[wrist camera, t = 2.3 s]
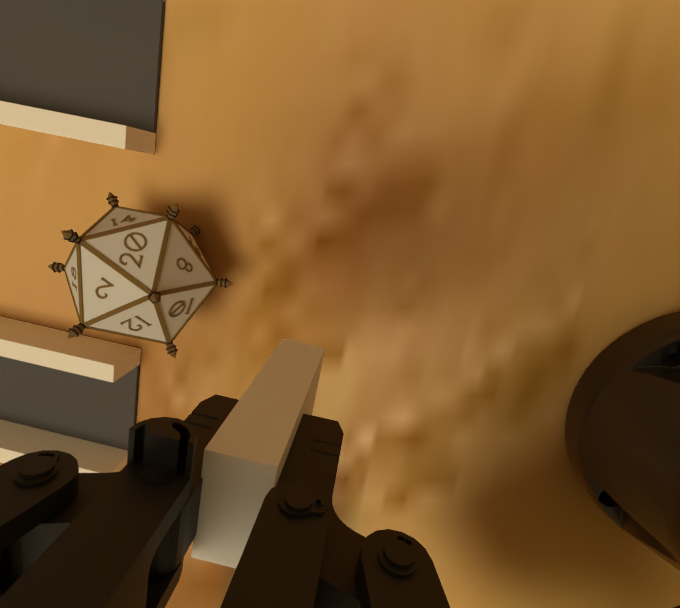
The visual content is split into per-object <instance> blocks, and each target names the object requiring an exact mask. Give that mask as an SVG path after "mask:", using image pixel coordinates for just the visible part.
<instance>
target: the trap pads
mask: <svg viewBox="0 0 680 608" xmlns="http://www.w3.org/2000/svg"><path fill="white" fill-rule="evenodd" d="M164 10H165V1H163V0H0V101H4V102H9V103H14V104H19V105H24V106H29V107H34V108H39V109H44V110H49V111H55V112H60V113H65V114H70V115H75V116H80V117H85V118H90V119H95V120H100V121H105V122H110V123H115V124H120V125H125V126H129V127H133V128H137V129H141V130H144V131H148V132H152V133H156V125H157V111H158V96H159V82H160V67H161V53H162V39H163V24H164ZM139 371H140V365H138V366H137V367H135V368H134V369H132V370H131V371H129V372H128V373H127V374H125V375H124V376H122V377H121V378H119V379H118V380H116V381H115V382H113V383H112V382H108V381H104V380H100V379H95V378H91V377H87V376H83V375H78V374H74V373H70V372H66V371H62V370H57V369H53V368H49V367H45V366H40V365H36V364H32V363H28V362H24V361H19V360H15V359H11V358H7V357H2V356H0V419H1V420H5V421H9V422H13V423H18V424H22V425H26V426H30V427H34V428H38V429H42V430H46V431H50V432H54V433H58V434H62V435H66V436H70V437H74V438H78V439H83V440H87V441H91V442H95V443H99V444H103V445H107V446H111V447H115V448H119V449H123V450H127V451H128V440H129V428H131V427H132V426H134V425H135V424H136V414H137V400H138V385H139Z"/></svg>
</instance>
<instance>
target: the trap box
mask: <svg viewBox="0 0 680 608" xmlns="http://www.w3.org/2000/svg"><path fill="white" fill-rule="evenodd" d="M163 1H165V0H163ZM0 124H3V125H8V126H13V127H18V128H23V129H28V130H33V131H38V132H43V133H48V134H53V135H58V136H63V137H68V138H73V139H78V140H82V141H87V142H92V143H97V144H102V145H107V146H112V147H117V148H122V149H127V150H133V151H139V152H145V153H151V154H155V140H156V133H152V132H148V131H144V130H141V129H137V128H133V127H129V126H125V125H120V124H115V123H110V122H105V121H100V120H95V119H90V118H85V117H80V116H75V115H70V114H65V113H60V112H55V111H49V110H44V109H39V108H34V107H29V106H24V105H19V104H14V103H9V102H4V101H0ZM68 335H69V332H67V331H62V330H58V329H54V328H49V327H45V326H41V325H36V324H32V323H28V322H23V321H19V320H15V319H10V318H6V317H2V316H0V356H2V357H7V358H11V359H15V360H19V361H24V362H28V363H32V364H36V365H40V366H45V367H49V368H53V369H57V370H62V371H66V372H70V373H74V374H78V375H83V376H87V377H91V378H95V379H100V380H104V381H108V382H112V383H113V382H115V381H116V380H118V379H119V378H121V377H122V376H124V375H125V374H127V373H128V372H129V371H131V370H132V369H134V368H135V367H137V366H138V365H140V356H141V349H140V348H136V347H132V346H127V345H123V344H119V343H114V342H110V341H106V340H101V339H97V338H93V337H88V336H84V335H80V334H79V336H78V337H73V338H69V339H68ZM42 450H59V451H62V452H66V453H69V454H71V455H72V456H73V457H75V458H76V459H77V461H78V466H79V473H110V472H120V471H121V470H122V469H123V468H124V467H125V466H126V465H127V456H128V451H127V450H123V449H119V448H115V447H111V446H107V445H103V444H99V443H95V442H91V441H87V440H83V439H78V438H74V437H70V436H66V435H62V434H58V433H54V432H50V431H46V430H42V429H38V428H34V427H30V426H26V425H22V424H18V423H13V422H9V421H5V420H1V419H0V463H6V462H8V461H10V460H12V459H14V458H17V457H19V456H22V455H25V454H27V453H32V452H37V451H42Z"/></svg>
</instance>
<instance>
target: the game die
mask: <svg viewBox="0 0 680 608" xmlns="http://www.w3.org/2000/svg"><path fill="white" fill-rule="evenodd" d="M106 200H108V204H110V205H111V206H112V208H111V209H110V210H109V211H108V212H107V213H106V214H105V215H103V216H102V217H101V218H100V219H99V220H98V221H97V222H96V223H95V224H93V225H92V226H91V227H90V228H89V229H88V230H87V231H86V232H84V233H83V234H82V235H81V236H80V237H79V236H78V234H77V232H73V230H72V229H71V230H67V231H61V232H62V234H63V236H64V239H65V240H69V242H73V243H74V242H75V245H74V247H73V249H72V251H71V253H70V255H69V257H68V259H67V261H66V264H65V265H63V264H62V263H56V262H53V264H51V265H49V266H48V267H49V268H50V269H52V270H53V271H54V272H59V273H60V272H61V271H65V275H66V278H67V281H68V285H69V288H70V291H71V295H72V298H73V301H74V305H75V308H76V311H77V315H78V318H79V321H80V323H79V324H78V325H76V326H75V325H74V326H73V328H72V329H69V330H70V331H69V335H68V339H69V338H73V337H78V336H79V334H80V333H82V332H83V330H84V329H85V328H87V329H92V330H97V331H103V332H108V333H113V335H114V334H118V335H123V336H128V337H133V338H138V339H143V340H148V341H153V342H158V343H163V344H166V345H167V349H166V350H167V351H168V353H167V354H170V355H171V356H173V357H174V358H175V357H176V352H177V350H178V349H176V345H174V344H173V342H172V341H173V340H174V339H175V338H176V336H177V335H178V334H179V332H180V331H181V330H182V329H183V327H184V326H185V325H186V323H187V322H188V321H189V320H190V318H191V317H192V316H193V315H194V313H195V312H196V311H197V309H198V308H199V307H200V306H201V304H202V303H203V302H204V300H205V299H206V298H207V297H208V295H209V294H210V293H211V291H212V290H213V289H214V288H215V286H216V285H220V287H222V286H224V287H227V286H229V285H232V284H233V283H231V282H230V281H229V280H228V279H227V278H226V279H223V278H221V279H217V278H216V277H215V275H214V273H213V271H212V269H211V267H210V266H209V264H208V262H207V260H206V258H205V256H204V255H203V253H202V251H201V249H200V247H199V245H198V244H197V242H196V240H195V238H194V235H197V234H198V233H200V226H195V225H194V226H193V227H192V228H191V229H190V232H189V231H188V230H187V229H185V228H184V227H183V226H182V225H181V224H179V223H178V222H177V221H176V220H175V219H174V217H176V216H177V215H178V213H179V211H180V210H179V209H178V205H177V204H175V205H173V206H169V207H168V208H169V210H167V212H168V215H162V214H157V213H151V212H146V211H141V210H135V209H130V208H125V207H119V206H118V202H119V201H118V200H117V196H114V195H113V194H112V193H110V192H109V195H108V198H107V199H106Z"/></svg>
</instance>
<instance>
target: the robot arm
mask: <svg viewBox="0 0 680 608" xmlns="http://www.w3.org/2000/svg"><path fill="white" fill-rule="evenodd" d="M324 350H325V347H322V346H317V345H313V344H308V343H304V342H299V341H295V340H290V339H286V338H283V339H282V340H281V341H280V343H279V344H278V346H277V347H276V349H275V350H274V351H273V353H272V354H271V356H270V357H269V358H268V360H267V361H266V363H265V364H264V366H263V367H262V368H261V370H260V371H259V373H258V374H257V375H256V377H255V378H254V380H253V381H252V383H251V384H250V385H249V387H248V388H247V390H246V391H245V392H244V394H243V395H242V397H241V398H240V400H237V399H233V398H228V397H224V396H220V395H214V396H212V397H210V398H208V399H206V400H204V401H202V402H200V403H199V405H198V406H197V407H196V408H195V409H194V410H193V411H192V414H190V415H189V416H188V417H187V418H186V419H185V420H184V421H183V420H180V419H178V418H169V417H160V418H151V419H148V420H144V421H141V422H139V423H137V424H135V425H134V426H132V427H131V428H129V440H128V456H127V465H126V466H125V467H124V468H123V469H122V470H121V471H120V472H110V473H79V466H78V461H77V459H76V458H75V457H73V456H72V455H71V454H69V453H66V452H62V451H59V450H42V451H37V452H32V453H27V454H25V455H22V456H19V457H17V458H14V459H12V460H10V461H8V462H6V463H4V464H2V465H0V608H165V606H166V604H167V602H168V600H169V598H170V597H171V595H172V593H173V591H174V589H175V587H176V585H177V583H178V581H179V579H180V575H181V572H182V567H183V558H184V555H185V553H186V552H187V550H188V548H189V546H190V544H191V543H192V541H193V548H192V557H193V558H196V559H200V560H204V561H208V562H212V563H216V564H220V565H224V566H228V567H232V568H236V570H235V573H234V575H233V578H232V580H231V583H230V585H229V588H228V590H227V593H226V595H225V598H224V600H223V603H222V605H221V608H450V606H449V603H448V601H447V598H446V595H445V593H444V590H443V588H442V585H441V582H440V580H439V577H438V574H437V572H436V569H435V566H434V564H433V561H432V559H431V558H430V556H429V554H428V553H427V551H426V549H425V548H424V547H423V546H422V545H421V544H420V543H419V542H418V541H416V540H415V539H414V538H412V537H410V536H408V535H407V534H405V533H403V532H399V531H395V530H390V529H386V530H378V531H375V532H374V533H372V534H370V535H369V536H367V537H364V536H362V535H360V534H358V533H356V532H355V531H353V530H352V529H350V528H349V527H347V526H346V525H345V524H344V523H343V522H342V521H341V520H340V519H339V518H338V516H337V514H336V513H335V511H334V508H333V505H332V495H333V489H334V484H335V478H336V473H337V467H338V461H339V456H340V450H341V445H342V439H343V431H342V429H341V427H340V425H339V423H338V421H334V420H329V419H325V418H321V417H316V416H312V411H313V406H314V401H315V396H316V391H317V386H318V381H319V376H320V371H321V366H322V361H323V355H324ZM565 438H566V446H567V451H568V455H569V458H570V461H571V464H572V466H573V468H574V470H575V472H576V474H577V476H578V477H579V479H580V481H581V482H582V484H583V485H584V486H585V488H586V489H587V491H588V492H589V494H590V495H591V497H592V498H593V500H594V501H595V502H596V504H597V505H598V506H599V507H600V509H601V510H602V511H603V512H604V513H605V514H606V515H607V516H608V517H609V518H610V519H611V520H612V521H613V522H615V523H616V524H617V525H618V526H619V527H621V528H622V529H623V530H625V531H626V532H627V533H629V534H630V535H632V536H633V537H634V538H636V539H637V540H638V541H640V542H641V543H643V544H644V545H645V546H647V547H648V548H649V549H651V550H652V551H654V552H655V553H656V554H658V555H659V556H660V557H662V558H663V559H664V560H666V561H667V562H669V563H670V564H671V565H673V566H674V567H675V568H677V569H678V570H680V312H677V313H673V314H670V315H667V316H663V317H661V318H658V319H655V320H653V321H650V322H648V323H646V324H644V325H642V326H640V327H638V328H636V329H634V330H632V331H631V332H629V333H627V334H626V335H624V336H623V337H621V338H620V339H618V340H617V341H616V342H614V343H613V344H612V345H611V346H609V347H608V348H607V349H606V350H605V351H604V352H603V353H602V354H601V355H600V356H599V357H598V358H597V359H596V360H595V361H594V362H593V363H592V364H591V366H590V367H589V368H588V370H587V371H586V372H585V374H584V375H583V377H582V378H581V380H580V382H579V383H578V385H577V387H576V389H575V391H574V394H573V396H572V398H571V401H570V404H569V408H568V412H567V417H566V426H565ZM193 539H194V540H193ZM674 608H680V605H679V606H676V607H674Z"/></svg>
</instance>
